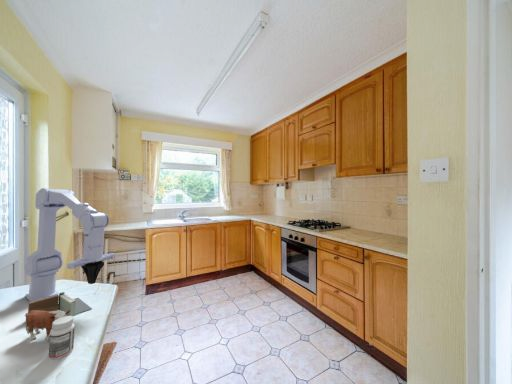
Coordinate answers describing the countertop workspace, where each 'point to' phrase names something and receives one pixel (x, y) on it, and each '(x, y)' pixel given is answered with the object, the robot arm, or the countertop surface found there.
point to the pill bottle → (61, 337)
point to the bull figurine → (42, 321)
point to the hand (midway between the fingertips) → (91, 283)
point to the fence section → (46, 304)
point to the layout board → (79, 307)
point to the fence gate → (67, 304)
